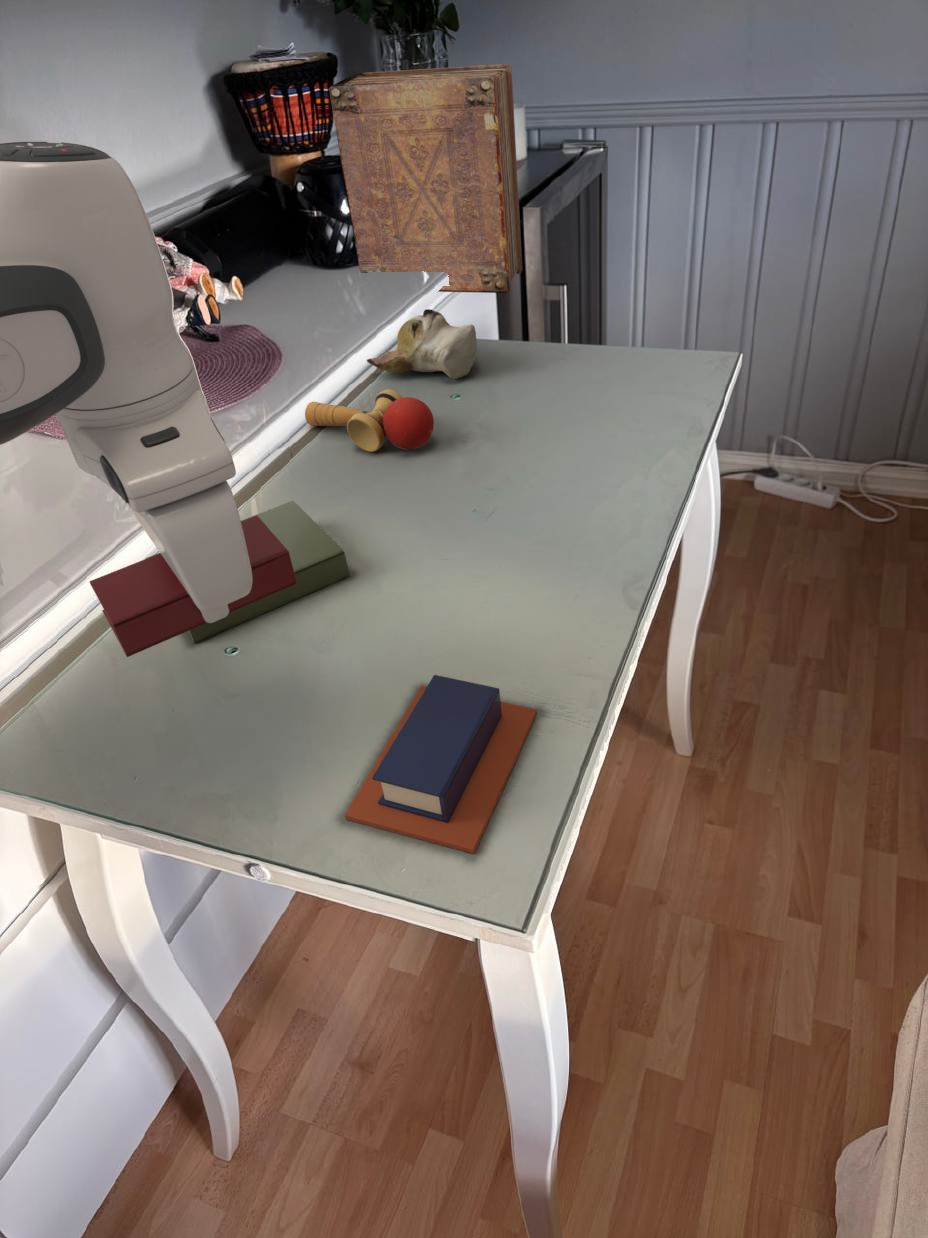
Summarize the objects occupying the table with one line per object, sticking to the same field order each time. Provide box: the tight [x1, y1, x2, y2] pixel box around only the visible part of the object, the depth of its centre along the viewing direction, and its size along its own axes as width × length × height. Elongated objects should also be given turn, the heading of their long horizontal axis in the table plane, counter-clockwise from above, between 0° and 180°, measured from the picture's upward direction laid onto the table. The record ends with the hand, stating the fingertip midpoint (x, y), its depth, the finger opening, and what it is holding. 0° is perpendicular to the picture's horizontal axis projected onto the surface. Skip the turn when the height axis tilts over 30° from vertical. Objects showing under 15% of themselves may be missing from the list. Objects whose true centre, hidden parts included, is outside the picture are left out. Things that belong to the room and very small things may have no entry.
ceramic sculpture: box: [366, 308, 478, 380], centre depth 122 cm, size 11×9×15 cm
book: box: [328, 63, 523, 294], centre depth 141 cm, size 25×9×30 cm, turn 73°
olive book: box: [145, 500, 351, 644], centre depth 89 cm, size 16×12×3 cm
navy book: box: [372, 674, 502, 823], centre depth 68 cm, size 11×6×3 cm, turn 158°
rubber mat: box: [344, 685, 538, 854], centre depth 69 cm, size 14×10×1 cm
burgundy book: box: [88, 514, 297, 658], centre depth 66 cm, size 13×6×3 cm, turn 123°
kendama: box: [304, 388, 435, 453], centre depth 109 cm, size 8×6×18 cm
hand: (198, 592), depth 66 cm, fingers closed on burgundy book, 5 cm apart
